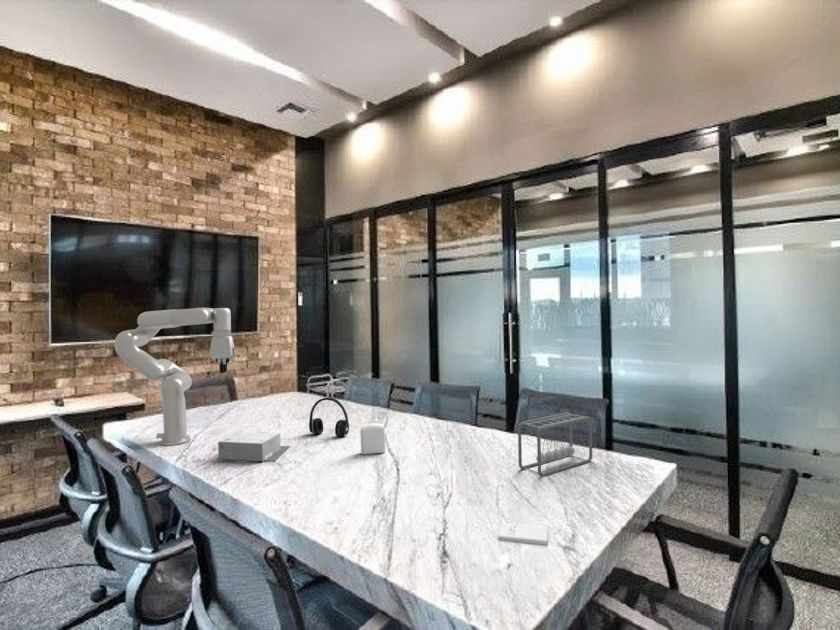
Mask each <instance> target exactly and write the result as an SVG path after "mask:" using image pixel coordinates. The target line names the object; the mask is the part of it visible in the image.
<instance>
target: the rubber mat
mask: <svg viewBox="0 0 840 630" xmlns="http://www.w3.org/2000/svg"><path fill="white" fill-rule="evenodd" d="M289 448H291V445H281V450H280V451H278V452H277V453H275V454H274V455H272V456H271V457H269V458H267V459H266V460H264V461H273V462H277V460H278V459H279V458H280V457H282V455H283V454H284V453H286V452H287V450H289ZM232 461H233V462H232ZM234 461H235V462H234ZM236 461H240V462H239V463H242V462H241V461H243V460H221V463H237V462H236Z"/></svg>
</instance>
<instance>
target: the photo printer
mask: <svg viewBox="0 0 840 630" xmlns="http://www.w3.org/2000/svg"><path fill="white" fill-rule="evenodd" d="M385 431H386V430H385V425H384V424H382V423H375V422H373V423H372V422H371V423H367V424H364V425H362V426H361V429H360V447H361V448H360V453H361V455H370V454H383V453H386V434H385V433H386V432H385Z"/></svg>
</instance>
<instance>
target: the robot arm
mask: <svg viewBox="0 0 840 630" xmlns="http://www.w3.org/2000/svg"><path fill="white" fill-rule="evenodd" d="M231 313H232V312H231V309H230V308H228V307H218V308H217V307H216V308H211V307H194V308H183V309H181V308H180V309H175V308H174V309H164V310H163V309H162V310H151V311H144V312H142V313H140V314H139V315H138V316H137V319H136V321H137V325H138V326H137V327H136V328H134V329H127V330H123V331H121V332H120V333H118V334H117V335H116V337H115V339H114V350H115V352H116V354H117V356H119V358H120V359H121V360H123V361H124V362H125V363H127V364H128V365H130V366H131V367H132V368H133V369H135V370H136V371H137V372H139V374H141V375H143V376H144V378H146V379H148V380H149V381H152V382H157V381H161V380H162V381H161V384H160V394H161V398H162V399H161V400H162V415H163V416H162V418H163V419H162V421H163V432H159V433H156V434H155V435H156V436H155V438H156V439H161V440H160V441H159V444H160V445H162V446H176V445H181V444H185V443H189V441H191V437H190V436H189V435H187V432H188V431H187V408H186V407H187V403H186V397H185V393H184V392H186V391H188V390H189V389H190V388H191V386H192V385H193V380H192V377H191V376H190V375H189V373H187V372H186V371H185V370H184V369H182V368H181V367H179V366H178V365H177V364H176V363H174V362H173V361H171V360H168V359H166V358H160V359H156V358H154V357H153V356H152V355H150V354H149V353H148V352H146V351H144V350H143V349H141V348H140V347H143V346H145V345H146V344H147V345H148V343H149V342H150V341H151V340H152V339H154V337H155V336H156V335H157V334H158V333H159V331H160V330H163V329H171V328H178V327H183V326H194V325H195V326H196V325H205V324H213V331H211V333H210V334H211V335H213V336H212V337H211V341H210V353H209V355H210V358H211V360H212V361H215V362H217V364H218V365H219V368H218V369H219V373H220V374H226V373H227V371H228V364H229V362H230V361H233V360H235V355H236V353H235V352H236V351H235V343H234V338H233V336H232V325H231V324H232V321H231V320H232V317H231V315H232V314H231Z"/></svg>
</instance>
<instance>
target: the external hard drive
mask: <svg viewBox="0 0 840 630" xmlns="http://www.w3.org/2000/svg"><path fill="white" fill-rule="evenodd" d="M499 528H500V529H499V532H498V538H497V539H498V540H499V539H502V540H501V541H507V540H511V541H510V542H515V541H520V542H519V543H524V542H527V543H526V544H533V543H535V545H541V544H542V546H548V543H549V541H548V540H549V527H548V526H540V525H538V526H537V525H529V524H528V525H527V524H517V523H506V522H501V523H500V527H499Z"/></svg>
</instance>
